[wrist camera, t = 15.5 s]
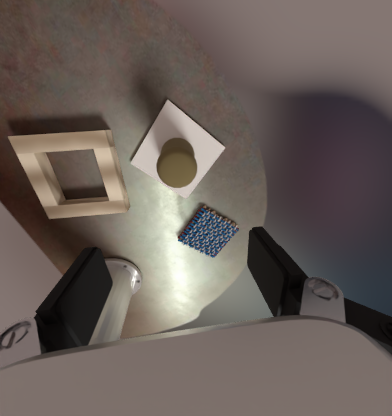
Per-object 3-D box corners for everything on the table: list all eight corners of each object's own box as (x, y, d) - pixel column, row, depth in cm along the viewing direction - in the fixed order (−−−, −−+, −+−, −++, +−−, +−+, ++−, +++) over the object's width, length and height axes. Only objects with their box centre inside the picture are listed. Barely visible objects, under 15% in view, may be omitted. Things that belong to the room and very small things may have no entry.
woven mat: (213, 255, 43) (214, 261, 41) (176, 237, 39) (175, 242, 37) (240, 224, 39) (242, 229, 37) (202, 202, 36) (203, 206, 34)
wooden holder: (130, 206, 34) (126, 212, 32) (57, 212, 34) (49, 219, 31) (110, 129, 28) (105, 130, 26) (21, 135, 27) (7, 136, 25)
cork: (153, 147, 29) (140, 158, 19) (185, 131, 29) (188, 134, 19) (170, 178, 32) (166, 202, 22) (200, 164, 31) (209, 182, 21)
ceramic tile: (186, 197, 35) (186, 199, 34) (131, 162, 31) (130, 163, 30) (224, 147, 31) (225, 147, 30) (167, 99, 27) (167, 99, 26)
